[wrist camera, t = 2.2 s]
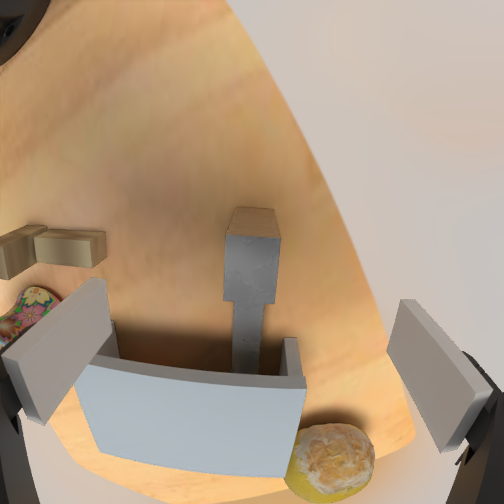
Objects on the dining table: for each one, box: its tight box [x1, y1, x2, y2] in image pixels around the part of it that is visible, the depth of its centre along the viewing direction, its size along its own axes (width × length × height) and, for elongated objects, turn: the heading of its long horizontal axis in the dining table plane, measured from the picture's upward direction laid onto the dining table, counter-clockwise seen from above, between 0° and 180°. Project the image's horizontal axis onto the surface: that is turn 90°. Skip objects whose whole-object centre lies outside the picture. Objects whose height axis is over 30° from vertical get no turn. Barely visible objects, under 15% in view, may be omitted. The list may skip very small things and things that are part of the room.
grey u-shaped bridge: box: [74, 320, 307, 478], centre depth 28 cm, size 13×19×8 cm
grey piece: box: [223, 207, 281, 375], centre depth 25 cm, size 19×7×9 cm, turn 176°
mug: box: [0, 287, 61, 350], centre depth 25 cm, size 12×9×11 cm
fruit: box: [284, 423, 375, 504], centre depth 29 cm, size 10×11×10 cm
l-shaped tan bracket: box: [0, 225, 107, 280], centre depth 24 cm, size 10×3×7 cm, turn 86°
